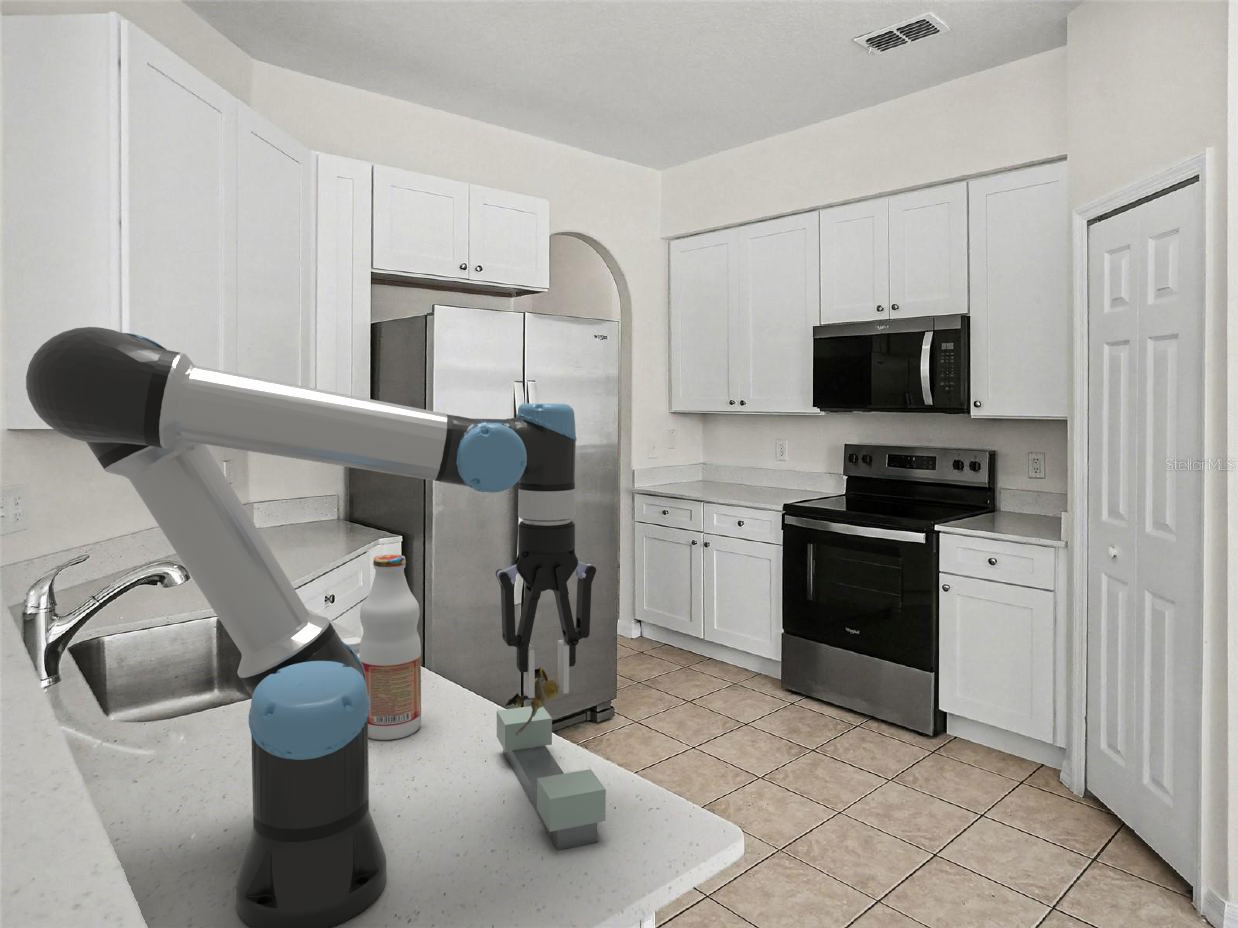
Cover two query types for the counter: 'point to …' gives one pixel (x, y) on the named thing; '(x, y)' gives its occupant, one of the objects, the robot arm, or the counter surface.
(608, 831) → the counter surface
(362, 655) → the fruit juice
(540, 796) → the mounted modules
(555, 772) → the rail
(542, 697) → the regulator
